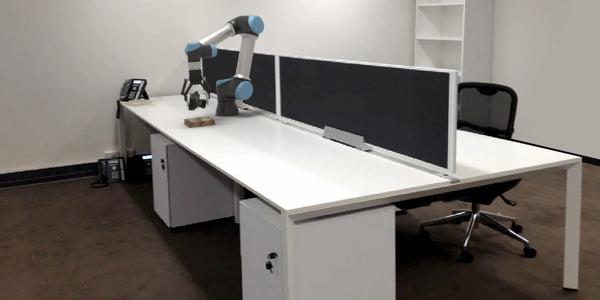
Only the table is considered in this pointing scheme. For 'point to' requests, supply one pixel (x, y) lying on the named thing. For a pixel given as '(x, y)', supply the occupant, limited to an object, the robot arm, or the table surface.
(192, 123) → the plinth
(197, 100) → the camera
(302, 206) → the table surface
